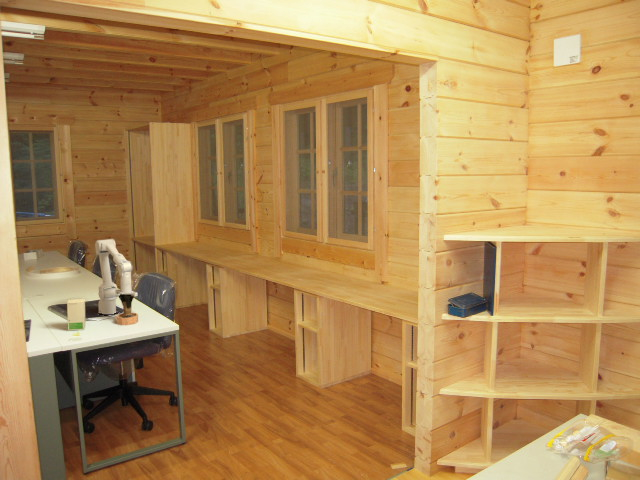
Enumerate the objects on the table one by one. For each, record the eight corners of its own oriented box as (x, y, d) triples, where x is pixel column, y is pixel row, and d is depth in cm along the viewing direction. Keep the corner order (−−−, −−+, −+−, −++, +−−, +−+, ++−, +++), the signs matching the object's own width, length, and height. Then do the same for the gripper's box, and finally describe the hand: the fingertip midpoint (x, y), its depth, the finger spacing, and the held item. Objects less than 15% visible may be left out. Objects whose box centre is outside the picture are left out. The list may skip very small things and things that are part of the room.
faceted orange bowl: (112, 323, 301) (112, 316, 300) (127, 318, 311) (127, 311, 310) (127, 326, 296) (127, 319, 295) (142, 321, 306) (141, 314, 305)
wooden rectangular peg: (123, 313, 301) (123, 301, 301) (128, 312, 305) (128, 300, 304) (126, 314, 300) (126, 302, 300) (131, 313, 304) (131, 300, 303)
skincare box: (67, 331, 287) (66, 302, 284) (69, 327, 293) (68, 299, 291) (84, 330, 289) (83, 301, 287) (86, 326, 295) (84, 298, 293)
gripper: (110, 283, 300) (111, 307, 302) (130, 286, 293) (131, 310, 295) (120, 281, 306) (121, 304, 308) (139, 283, 300) (140, 307, 302)
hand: (126, 307), depth 302 cm, fingers closed on wooden rectangular peg, 2 cm apart
